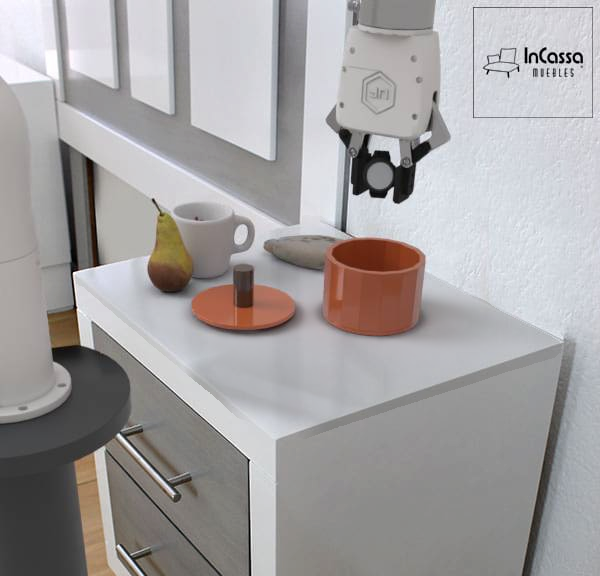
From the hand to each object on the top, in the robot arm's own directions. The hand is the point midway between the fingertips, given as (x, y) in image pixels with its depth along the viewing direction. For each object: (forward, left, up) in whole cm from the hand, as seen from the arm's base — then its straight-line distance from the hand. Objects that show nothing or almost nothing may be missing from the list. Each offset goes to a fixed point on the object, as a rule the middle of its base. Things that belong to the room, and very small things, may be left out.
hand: (381, 194), depth 99 cm
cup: (+1, +23, -15) cm, 27 cm away
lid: (-8, +13, -14) cm, 20 cm away
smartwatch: (0, 0, -1) cm, 1 cm away
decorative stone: (+11, +13, -15) cm, 22 cm away
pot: (0, 0, -14) cm, 14 cm away
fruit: (-7, +24, -15) cm, 29 cm away
